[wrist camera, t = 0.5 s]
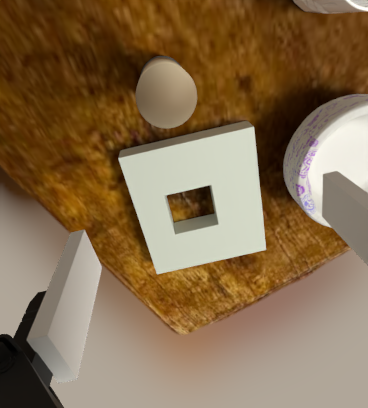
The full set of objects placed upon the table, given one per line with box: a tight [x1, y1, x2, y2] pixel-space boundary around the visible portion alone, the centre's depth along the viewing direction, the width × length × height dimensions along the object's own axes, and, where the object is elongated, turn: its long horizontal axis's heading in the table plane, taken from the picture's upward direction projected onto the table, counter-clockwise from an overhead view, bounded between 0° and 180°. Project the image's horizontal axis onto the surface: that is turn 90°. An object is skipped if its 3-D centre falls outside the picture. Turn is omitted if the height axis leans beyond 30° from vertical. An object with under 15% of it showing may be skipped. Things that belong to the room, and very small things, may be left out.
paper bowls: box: [283, 94, 368, 227], centre depth 37 cm, size 15×15×8 cm
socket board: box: [118, 121, 266, 274], centre depth 40 cm, size 18×16×3 cm
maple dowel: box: [136, 56, 197, 128], centre depth 28 cm, size 5×5×14 cm
